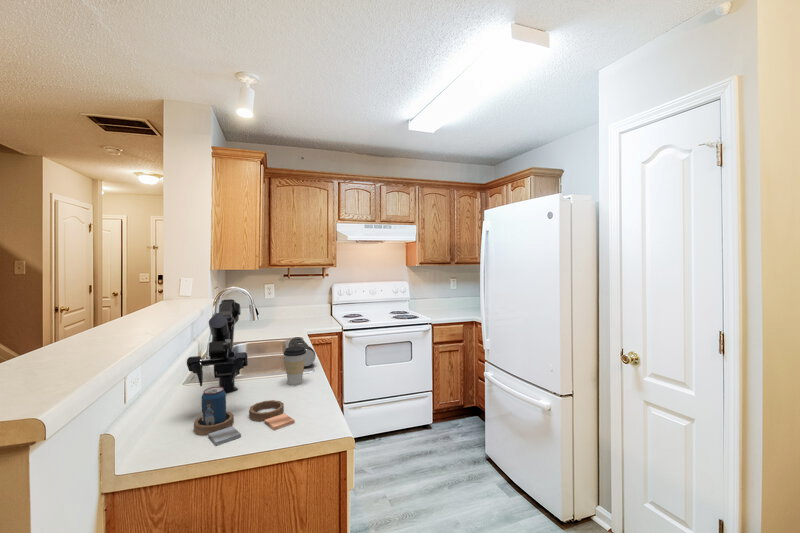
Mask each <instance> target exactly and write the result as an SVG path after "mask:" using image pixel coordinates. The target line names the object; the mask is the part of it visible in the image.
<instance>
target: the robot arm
mask: <svg viewBox="0 0 800 533" xmlns="http://www.w3.org/2000/svg"><path fill="white" fill-rule="evenodd" d="M241 311H242V310H241V304H240V303H238V302H236V300H235V299H232V298H230V299H228V298H227V299H222V300H221V302H220V304H219V305H218V312H216V313H214V314H213V316H212V317H211V318H209V320H208V327H209V330H210V335H211V336H212V339H211V341H210V342H208V357H209V358H205V359H202V356H201V355H194V356H189V357H188V358H187V359H186V367H187V369H188V372H192V374H196V376H197V378H198V383H199V386H200V387H202V386H203V379H204V378H203V376H204V375H203V373H204V371H203V366H210V365H211V366H212V365H213V376H214V379H218V387H223V388H224V391H225V393H226V394H228V393H232V392H235V391H238V389H239V388H238V387H236V386H235V382H236V381H235V379H236V377H237V376H239V375H240V371H241V369H244V368H245V367H247V366H248V365H249V357H248V353H247V352H246V351H242V352H241V351H239V352H234V336H235V325H236V324H237V323H238V321H239V320H240V319H239V318H240V316H241V314H242V312H241Z"/></svg>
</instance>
